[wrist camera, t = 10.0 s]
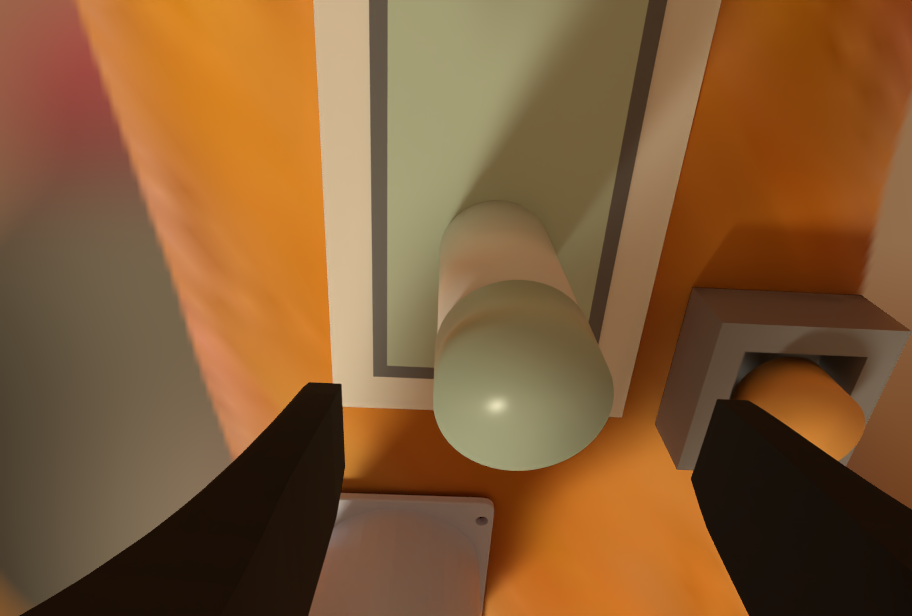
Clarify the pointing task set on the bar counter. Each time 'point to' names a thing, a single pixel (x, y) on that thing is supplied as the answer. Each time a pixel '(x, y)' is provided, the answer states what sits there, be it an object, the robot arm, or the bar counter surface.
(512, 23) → the picture sheet
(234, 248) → the bar counter surface
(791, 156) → the bar counter surface
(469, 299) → the cylinder
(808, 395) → the button
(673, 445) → the button housing
